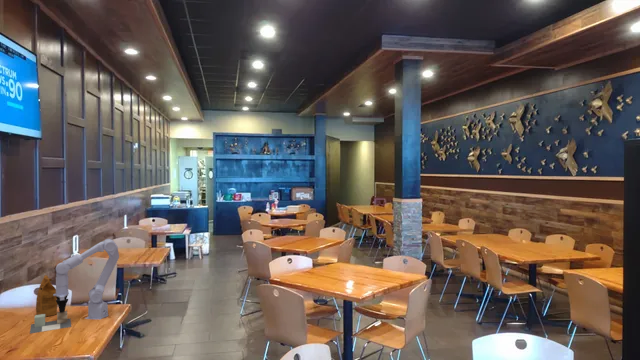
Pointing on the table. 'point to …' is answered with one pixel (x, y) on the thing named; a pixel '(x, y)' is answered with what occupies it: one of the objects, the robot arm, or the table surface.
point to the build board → (50, 326)
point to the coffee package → (46, 298)
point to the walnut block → (61, 317)
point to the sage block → (39, 320)
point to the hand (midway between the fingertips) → (62, 310)
